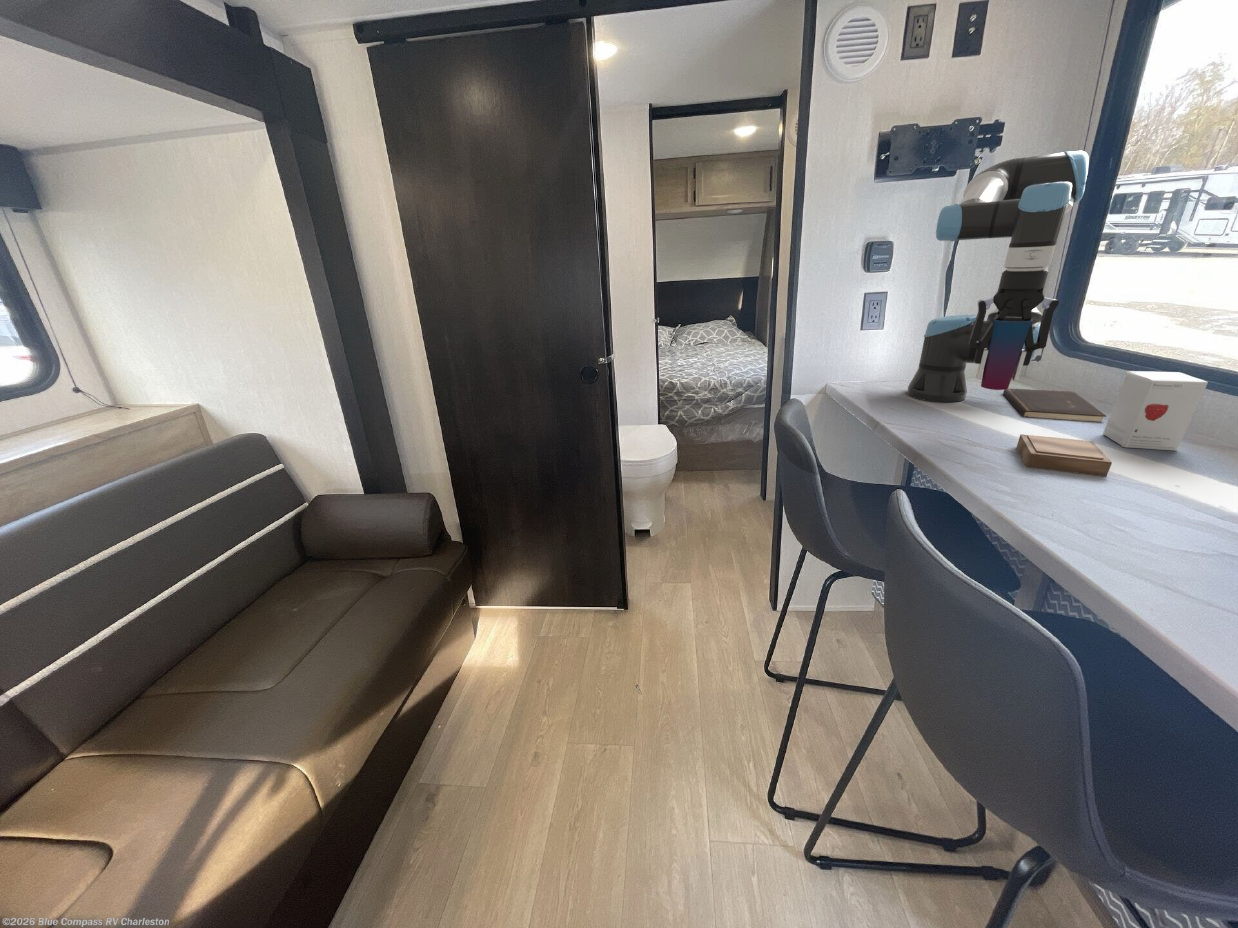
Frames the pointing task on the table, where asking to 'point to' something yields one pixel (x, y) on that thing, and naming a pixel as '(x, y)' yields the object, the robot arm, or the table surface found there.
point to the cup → (1004, 352)
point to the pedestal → (1063, 455)
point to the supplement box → (1154, 409)
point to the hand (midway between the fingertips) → (996, 378)
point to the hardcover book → (1052, 405)
